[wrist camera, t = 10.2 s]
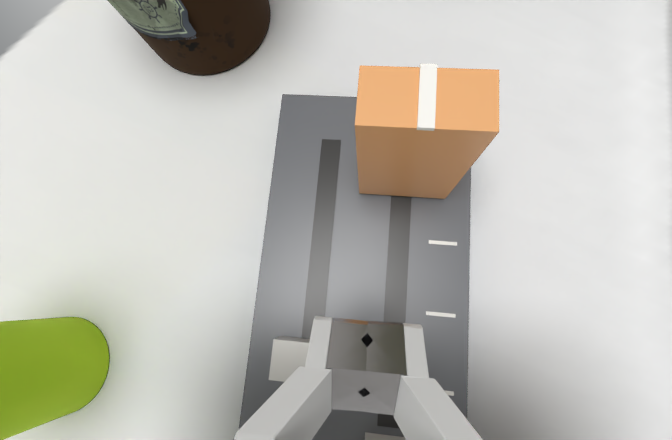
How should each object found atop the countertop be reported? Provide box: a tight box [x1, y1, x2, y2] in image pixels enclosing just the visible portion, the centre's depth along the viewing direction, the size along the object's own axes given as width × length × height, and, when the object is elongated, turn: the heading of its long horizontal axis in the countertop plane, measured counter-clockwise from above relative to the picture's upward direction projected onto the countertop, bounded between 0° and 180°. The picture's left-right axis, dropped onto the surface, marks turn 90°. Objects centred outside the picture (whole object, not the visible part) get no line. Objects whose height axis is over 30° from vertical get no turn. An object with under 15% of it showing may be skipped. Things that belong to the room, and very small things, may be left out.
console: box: [239, 94, 471, 440], centre depth 21 cm, size 22×12×4 cm, turn 175°
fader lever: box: [355, 64, 499, 199], centre depth 17 cm, size 2×5×9 cm, turn 85°
